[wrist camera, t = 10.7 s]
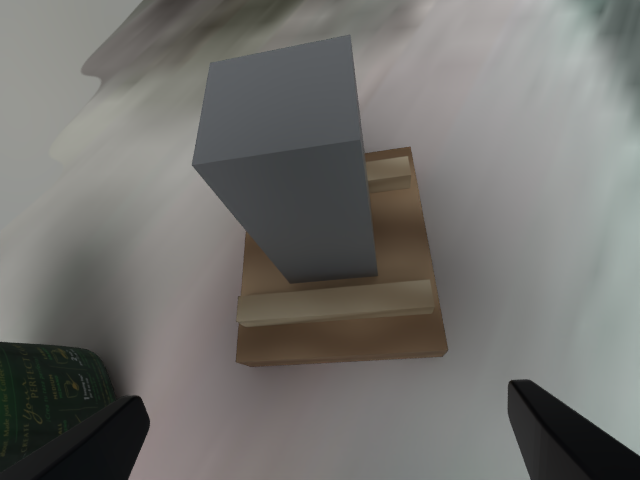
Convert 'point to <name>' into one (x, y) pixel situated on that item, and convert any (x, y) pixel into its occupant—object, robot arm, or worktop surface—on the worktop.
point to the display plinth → (350, 290)
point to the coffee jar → (46, 395)
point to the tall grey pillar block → (292, 157)
